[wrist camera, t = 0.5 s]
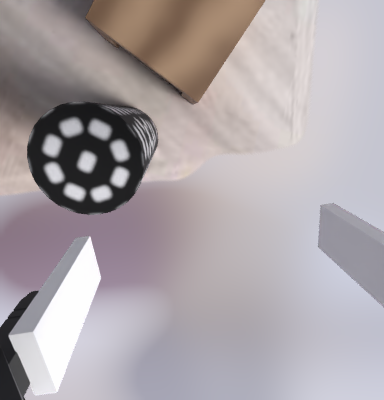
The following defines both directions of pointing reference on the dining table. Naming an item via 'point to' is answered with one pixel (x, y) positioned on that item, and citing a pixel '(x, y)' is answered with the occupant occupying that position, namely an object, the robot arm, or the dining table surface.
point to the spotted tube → (91, 155)
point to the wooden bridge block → (176, 35)
